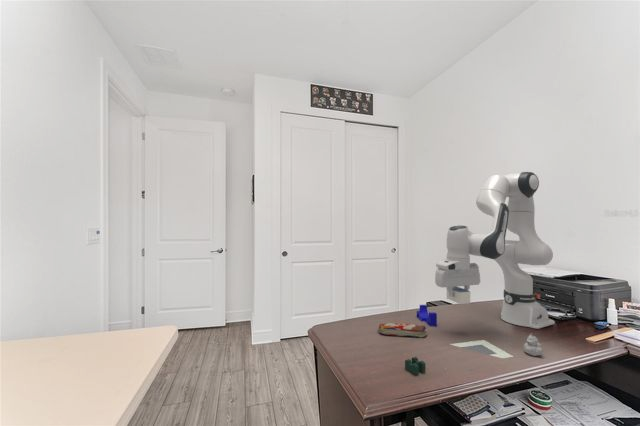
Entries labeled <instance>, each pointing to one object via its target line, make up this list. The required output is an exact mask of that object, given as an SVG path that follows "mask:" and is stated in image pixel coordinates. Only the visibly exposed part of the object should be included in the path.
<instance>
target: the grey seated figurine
mask: <svg viewBox="0 0 640 426" xmlns="http://www.w3.org/2000/svg"><path fill="white" fill-rule="evenodd" d="M523 349H524V352H525V353H526V354H527V355H529V354H530V355H529V356H532V357H533V356H534V357H538V356H542V355H543V348H542V344H541V343H540V342H539V340H538V338H537V336H535V335H533V333H530V334H529V335H528V336H527V339H526V342H525V343H524V344H523Z"/></svg>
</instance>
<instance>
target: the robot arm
mask: <svg viewBox="0 0 640 426" xmlns="http://www.w3.org/2000/svg"><path fill="white" fill-rule="evenodd" d="M539 187H540V180H539V177H538V175H537V174H535V173H534V172H532V171H522V172H514V173H508V174H505V175H502V174H493V175H490V176H489V177H488V178H487V179H486V181H484V183H483V185H482V186H481V188H480V190H479V192H478V194H477V196H476V200H475V201H476V202H475V205H476V207H477V208H478V210H479V211H480V212H482V213H484V214H485V215H487V216H491V217H493V219H492V220H493V221H492V226H491V230H490V232H489V233H476V232H473V231H471V230H470V229H469V227H468V226H466V225H453V226H450V227H449V228H448V230H447V232H446V233H447V234H446V248H447V254H446V258H444V259H442V260H440V261H438V262H436V268H437V269H436V270H435V277H434V278H435V279H434V283H435V285H436V286H437V287H438V288H443V289H444V288H445V289H446V291H447V290H448V292H449V296H450V297H455V293H453V292H452V289H453V287H455V286H457V287H463V289H465V290H468V291H470V289H471V286H477V285H478V286H479V285H480V283H481V273H480V270H479V269H480V267H479V265H478V264H477V263H476V262H472V263H471V257H470V255H471V256H475V257H481V258H487V259H490V260H493V261H495V262H496V263H497V264H498V266H499V267H500V269H501V271H502V273H503V279H504V289H503V293H502V294H503V300H502V310H501V312H500V318H501V320H503V321H504V322H507V323H508V324H509V323H510V324H512V325H515V326H516V325H517V326H520V327H527V328H531V329H542V328H545V327H549V326H552V325H555V324H556V323H555V322H556V321H555V320H553V319H551V318H549V313H548V310H547V308H546V307H544V306H543V305H541V304H540V303H539V302H538V301H537V299H540V298H541V295H540V294H539V293H538V294H537V293H533V291H534V290H533V287H534V283H533V282H534V279H533V277H532V275H530V273H528V272H526V271H524V270H523V269H522V268H521V267H520V265H530V266H546V265H549V264H550V263H551V262H552V260H553V258H554V252H553V250H552V248H551V247H550V245H548V243H545V242H544V241H543V240H542V239H541V238H540V237H539V235H538V233H537V231H536V228H535V227H536V226H535V214H536V213H535V209H536V207H535V200H534V195H535V193H536V192H537V190H538V189H539ZM507 198H508V201H507V204H506V203H505V202H506V199H507ZM507 230H508V231H510V232H511V233H513V234H515V235H517V236H518V237H519V240H511V239H506V236H507V235H506V234H507Z"/></svg>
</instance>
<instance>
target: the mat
mask: <svg viewBox="0 0 640 426" xmlns="http://www.w3.org/2000/svg"><path fill="white" fill-rule="evenodd" d="M449 345H451V346H453V347H454V346H455V347H457V348H460V349H461V348H462V349H464V350H465V349H466V350H469V351H472V352H476V353H479V354H484V355H487V356H491V357H492V356H493V357H495V358H500V359H507V358H514V355H511V354H510V353H508V352H506V351H504V350H503V349H501V348H499V347H498V346H496V345H494V344H492V343H490V342H489V341H487V340H485V339H482V340H481V339H480V340H472V341H471V340H470V341H465V342H463V341H462V342H458V343H449Z"/></svg>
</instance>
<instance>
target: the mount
mask: <svg viewBox="0 0 640 426" xmlns="http://www.w3.org/2000/svg"><path fill="white" fill-rule="evenodd" d="M404 369H405V370H406V371H408V372H409V373H411V374H413V375H414V376H415V377H416V376H419V375H420V373H421V374H425V373H426V362H425V361H424V360H419V359H418V357H416V356H414V357H412V358H411V359H409V358H408V359H406V360H404Z"/></svg>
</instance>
